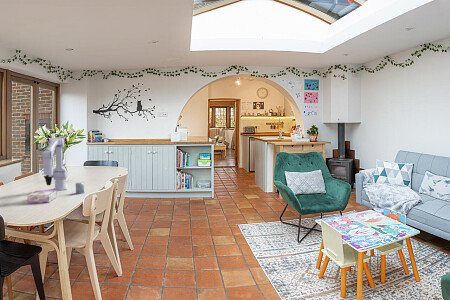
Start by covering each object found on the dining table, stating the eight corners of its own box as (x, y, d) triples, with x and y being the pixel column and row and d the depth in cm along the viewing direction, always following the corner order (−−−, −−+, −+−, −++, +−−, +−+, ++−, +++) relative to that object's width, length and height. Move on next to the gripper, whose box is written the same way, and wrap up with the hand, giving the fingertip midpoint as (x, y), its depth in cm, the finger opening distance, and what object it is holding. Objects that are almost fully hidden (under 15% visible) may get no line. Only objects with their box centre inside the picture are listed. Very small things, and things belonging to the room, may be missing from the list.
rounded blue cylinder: (74, 192, 245) (74, 183, 245) (82, 191, 249) (82, 182, 249) (77, 194, 241) (76, 184, 240) (85, 193, 245) (84, 183, 244)
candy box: (36, 198, 228) (27, 203, 212) (36, 190, 228) (26, 195, 212) (56, 197, 231) (49, 202, 215) (56, 189, 231) (48, 194, 214)
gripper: (39, 166, 231) (40, 184, 232) (43, 168, 220) (44, 187, 221) (50, 165, 235) (51, 183, 236) (54, 167, 224) (55, 186, 225)
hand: (48, 185), depth 229 cm, fingers closed
